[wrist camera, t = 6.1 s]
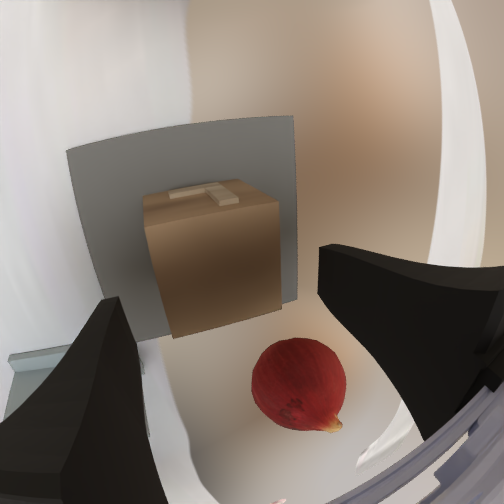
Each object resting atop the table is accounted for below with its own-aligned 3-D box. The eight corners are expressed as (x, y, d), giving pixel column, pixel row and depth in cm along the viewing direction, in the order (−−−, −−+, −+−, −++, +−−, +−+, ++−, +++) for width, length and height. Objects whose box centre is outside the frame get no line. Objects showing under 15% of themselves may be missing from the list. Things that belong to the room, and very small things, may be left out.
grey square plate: (294, 296, 19) (297, 299, 19) (123, 340, 16) (123, 345, 15) (289, 115, 14) (293, 115, 14) (68, 149, 11) (65, 150, 11)
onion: (257, 386, 21) (303, 468, 15) (220, 347, 18) (268, 448, 12) (319, 345, 22) (380, 417, 15) (295, 298, 19) (370, 381, 12)
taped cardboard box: (244, 262, 16) (281, 309, 12) (161, 282, 15) (173, 338, 11) (237, 174, 14) (278, 195, 10) (141, 191, 13) (142, 221, 9)
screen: (143, 367, 17) (156, 445, 12) (31, 386, 14) (20, 456, 9) (128, 332, 16) (135, 415, 11) (9, 355, 13) (-11, 427, 8)
